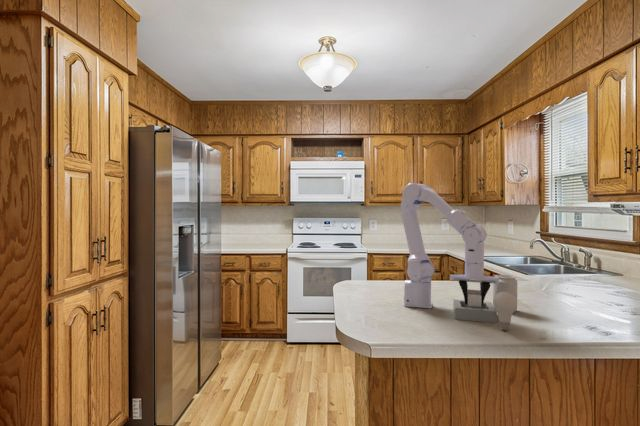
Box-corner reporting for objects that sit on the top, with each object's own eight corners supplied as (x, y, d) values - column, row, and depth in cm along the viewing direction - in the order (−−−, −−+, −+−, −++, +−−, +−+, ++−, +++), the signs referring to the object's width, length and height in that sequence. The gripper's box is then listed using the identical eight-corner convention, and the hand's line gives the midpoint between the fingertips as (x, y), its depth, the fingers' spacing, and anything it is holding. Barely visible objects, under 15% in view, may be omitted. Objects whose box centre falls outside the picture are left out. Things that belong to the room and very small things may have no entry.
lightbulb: (515, 335, 100) (516, 295, 100) (491, 331, 104) (491, 292, 104) (517, 329, 105) (517, 291, 105) (494, 325, 109) (494, 288, 109)
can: (520, 314, 122) (520, 278, 122) (496, 312, 123) (496, 277, 123) (513, 308, 129) (513, 274, 129) (490, 306, 131) (490, 273, 131)
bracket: (467, 313, 117) (468, 291, 117) (466, 308, 122) (467, 287, 122) (481, 314, 116) (481, 292, 116) (479, 310, 120) (480, 288, 120)
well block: (454, 319, 115) (455, 307, 115) (453, 309, 127) (453, 299, 127) (496, 322, 112) (496, 311, 111) (491, 312, 123) (491, 302, 123)
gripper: (451, 263, 117) (450, 305, 117) (500, 265, 113) (500, 309, 113) (450, 260, 124) (449, 300, 124) (497, 262, 120) (496, 304, 120)
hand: (473, 304), depth 119 cm, fingers closed on bracket, 4 cm apart
